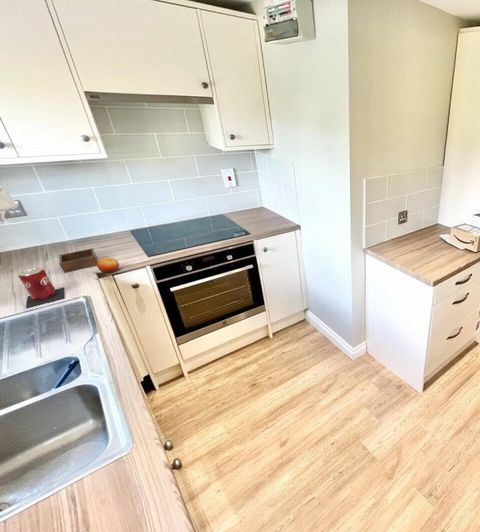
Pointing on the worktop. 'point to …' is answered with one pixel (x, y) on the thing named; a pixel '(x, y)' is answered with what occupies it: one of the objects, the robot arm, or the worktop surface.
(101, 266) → the fruit
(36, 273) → the soda can
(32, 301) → the mat
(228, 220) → the worktop surface
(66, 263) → the basket
